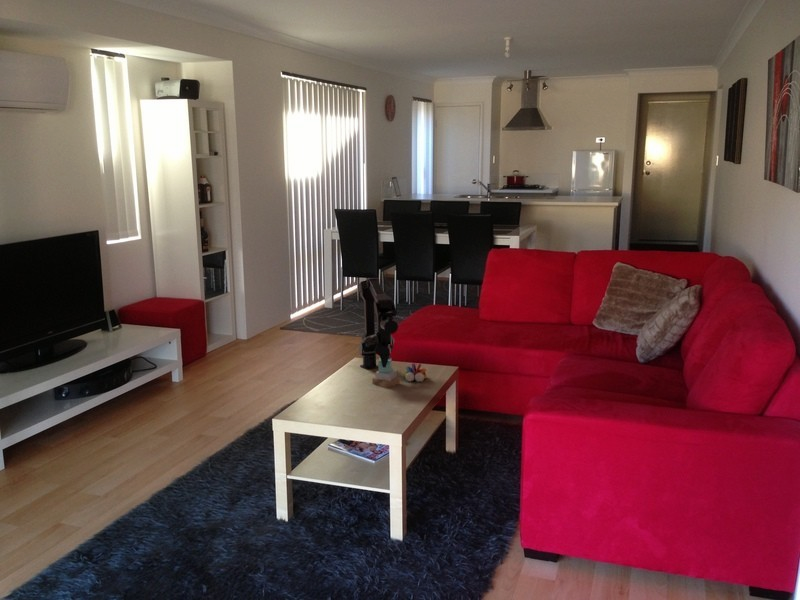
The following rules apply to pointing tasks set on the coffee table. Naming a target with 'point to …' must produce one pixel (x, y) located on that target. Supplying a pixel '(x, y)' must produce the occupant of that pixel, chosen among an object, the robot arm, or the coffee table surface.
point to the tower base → (386, 382)
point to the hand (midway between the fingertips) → (385, 365)
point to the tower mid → (386, 375)
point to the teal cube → (385, 369)
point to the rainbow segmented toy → (415, 373)
